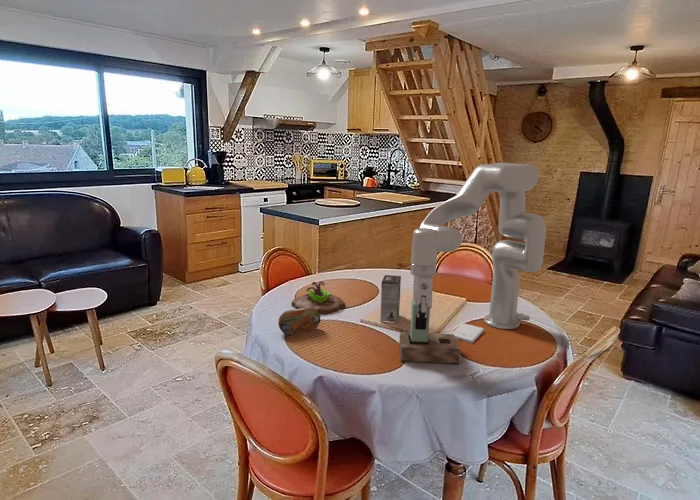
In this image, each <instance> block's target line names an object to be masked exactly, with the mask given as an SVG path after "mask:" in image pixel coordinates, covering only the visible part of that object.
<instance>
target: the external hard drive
mask: <svg viewBox="0 0 700 500" xmlns="http://www.w3.org/2000/svg"><path fill="white" fill-rule="evenodd" d="M484 332H485V328H484V327H480V326H477V325H473V324H467V323H465V322H463V323H461V324H460V325H458V327H456V329H454V331H452V332H451V333H450V334H454V336H455V338H456V340H457V341H462V342H466V343H469V344H473V343H474V342H475V341H476V340H477V339H478V338H479V337H480V336H481V335H482V334H483V333H484Z"/></svg>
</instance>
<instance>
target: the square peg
mask: <svg viewBox="0 0 700 500" xmlns="http://www.w3.org/2000/svg"><path fill="white" fill-rule="evenodd" d="M419 307H421V305H419ZM420 311H421V309H419V312H420ZM430 313H431V309H429V308H428V306H427V314H426V317H427V321H426V329H425V330H418V329H415V324H416V316H417V308H416V307H415V302H414V298H411V314H410V330H409V333H410V337H411V341H418V342H428V333H429V329H430V316H431V315H430Z"/></svg>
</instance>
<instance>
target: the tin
mask: <svg viewBox="0 0 700 500" xmlns="http://www.w3.org/2000/svg"><path fill="white" fill-rule="evenodd" d="M320 323H321V314H319V312H318V311H317V310H315V309H314V308H311V307H306V308H300V309H289V310H285V311H284V312H283V313H281V315H280V316H279V318H278V327H279V329H280V331H281V333H283V334H284V335H287V336H292V335H297V334H302V333H303V334H304V333H309V332H312V331H314V330H316V329H317V328H318V326H319V325H320Z"/></svg>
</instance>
